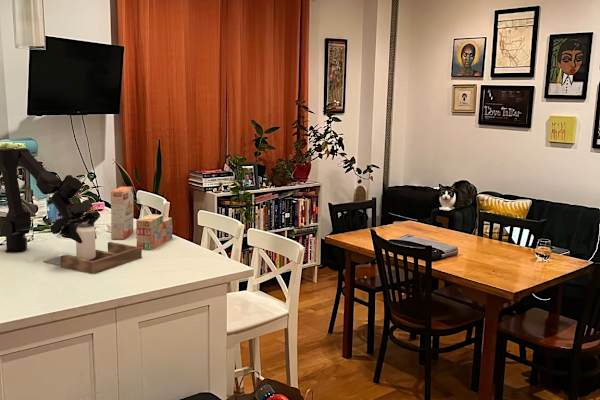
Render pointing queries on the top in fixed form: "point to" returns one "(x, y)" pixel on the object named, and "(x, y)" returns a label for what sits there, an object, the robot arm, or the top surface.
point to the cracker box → (121, 212)
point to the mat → (57, 260)
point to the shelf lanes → (103, 258)
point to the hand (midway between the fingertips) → (88, 240)
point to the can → (86, 242)
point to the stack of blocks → (153, 231)
